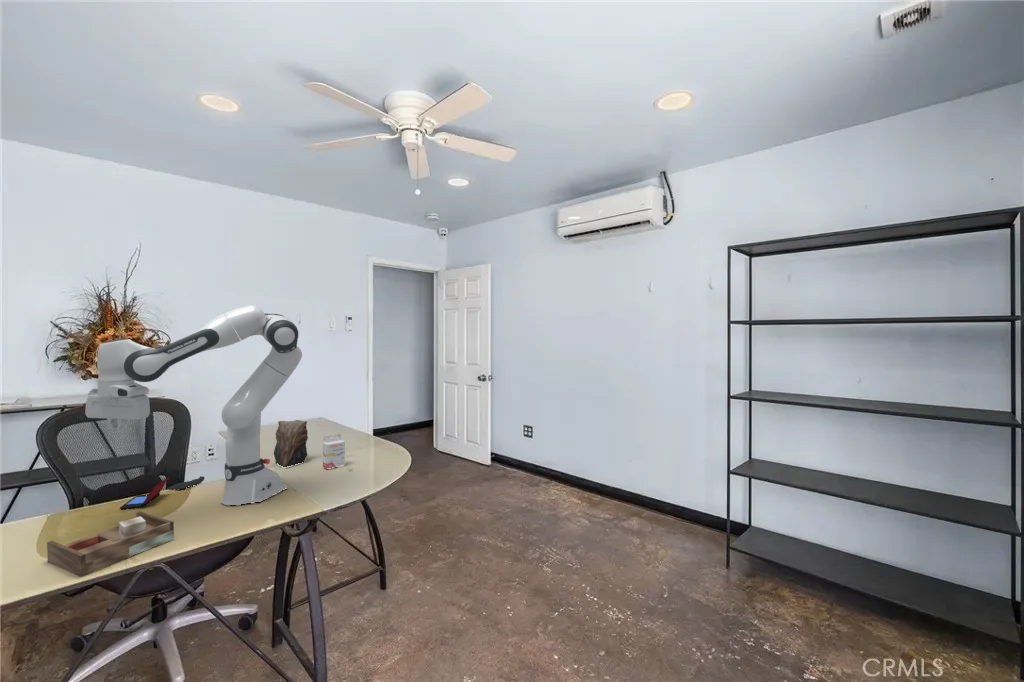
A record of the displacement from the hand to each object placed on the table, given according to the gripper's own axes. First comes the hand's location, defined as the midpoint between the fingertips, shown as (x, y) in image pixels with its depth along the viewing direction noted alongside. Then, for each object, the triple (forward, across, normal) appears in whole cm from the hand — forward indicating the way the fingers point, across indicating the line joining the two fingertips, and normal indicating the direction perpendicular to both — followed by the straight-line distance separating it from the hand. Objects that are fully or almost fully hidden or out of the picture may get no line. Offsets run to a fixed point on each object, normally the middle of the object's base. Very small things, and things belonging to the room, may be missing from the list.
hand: (117, 432), depth 143 cm
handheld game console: (+32, -11, +19) cm, 38 cm away
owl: (+31, +13, +67) cm, 75 cm away
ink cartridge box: (+31, +36, +67) cm, 82 cm away
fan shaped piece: (+32, -10, +36) cm, 50 cm away
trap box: (+31, +13, -13) cm, 36 cm away
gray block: (+28, +17, -11) cm, 35 cm away
